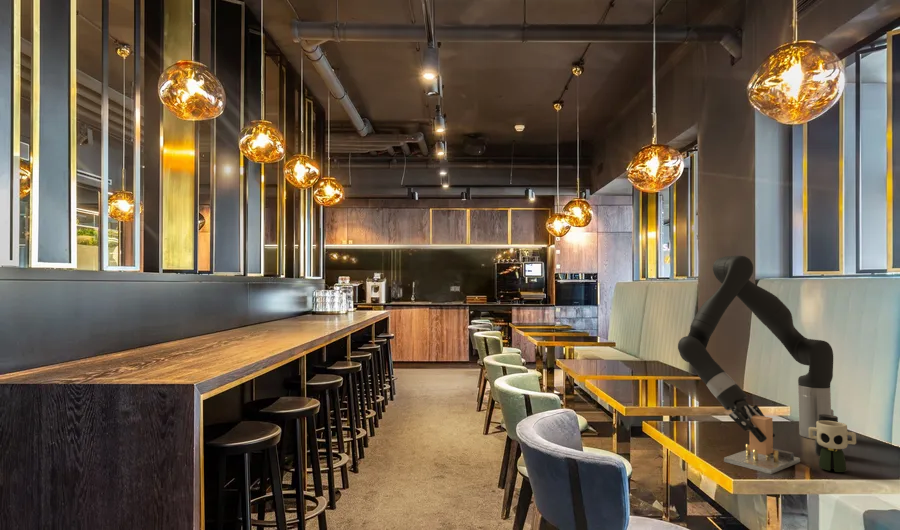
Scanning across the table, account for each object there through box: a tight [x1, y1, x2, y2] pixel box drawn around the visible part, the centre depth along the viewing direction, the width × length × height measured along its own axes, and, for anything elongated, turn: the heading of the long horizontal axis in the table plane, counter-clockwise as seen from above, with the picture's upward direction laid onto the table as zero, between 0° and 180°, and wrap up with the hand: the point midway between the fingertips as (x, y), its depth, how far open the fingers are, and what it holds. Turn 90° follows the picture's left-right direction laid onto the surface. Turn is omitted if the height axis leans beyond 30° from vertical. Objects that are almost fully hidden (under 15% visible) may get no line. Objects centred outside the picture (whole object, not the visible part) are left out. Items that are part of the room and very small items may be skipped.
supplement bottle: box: [814, 414, 843, 457], centre depth 166 cm, size 7×7×12 cm
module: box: [748, 415, 774, 455], centre depth 160 cm, size 4×4×10 cm
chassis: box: [723, 443, 801, 475], centre depth 160 cm, size 18×13×4 cm
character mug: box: [808, 421, 857, 473], centre depth 153 cm, size 11×7×13 cm, turn 54°
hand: (768, 439), depth 158 cm, fingers closed on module, 4 cm apart
